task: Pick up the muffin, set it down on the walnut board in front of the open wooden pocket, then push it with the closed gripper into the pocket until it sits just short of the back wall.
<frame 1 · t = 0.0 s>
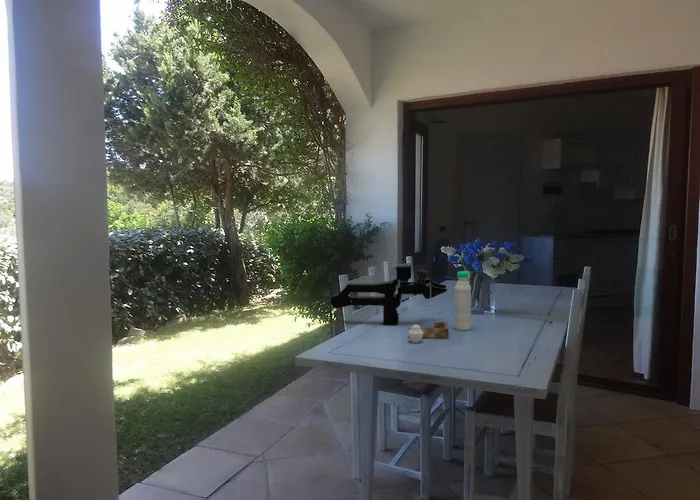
hand: (446, 288, 220), 17 cm above the table, tool horizontal, fingers open, 9 cm apart
muffin: (415, 342, 195), on the table
channel bracket: (428, 334, 206), on the table
white milk bottle: (462, 329, 213), on the table
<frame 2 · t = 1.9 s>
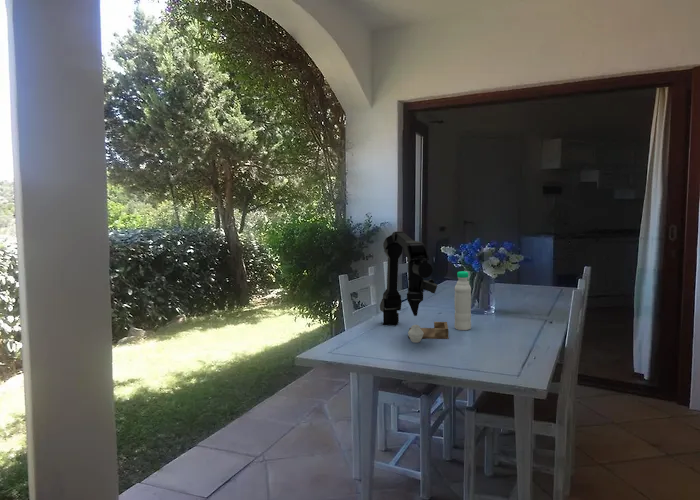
hand: (415, 313, 194), 12 cm above the table, tool pointing down, fingers open, 9 cm apart
nothing on the table moved.
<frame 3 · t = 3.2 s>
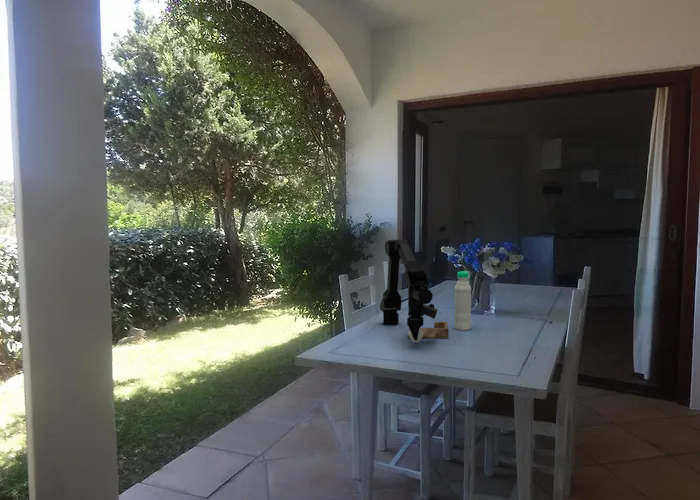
hand: (415, 337, 195), 2 cm above the table, tool pointing down, fingers closed on muffin, 6 cm apart
muffin: (415, 342, 195), on the table, touching gripper
everything else where it was.
when the fingers open (3 cm above the table, at t = 7.0 s): muffin drops 1 cm, resting on channel bracket.
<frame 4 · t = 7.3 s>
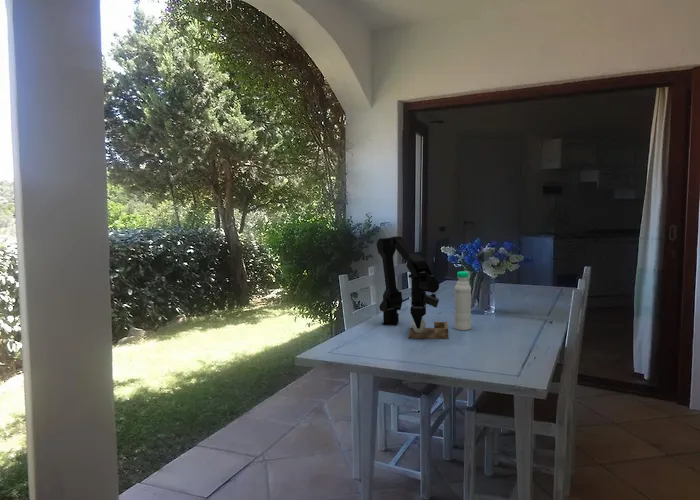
hand: (418, 325, 206), 3 cm above the table, tool pointing down, fingers open, 8 cm apart
muffin: (418, 332, 206), point 1 cm above the table, touching channel bracket
everything else where it was.
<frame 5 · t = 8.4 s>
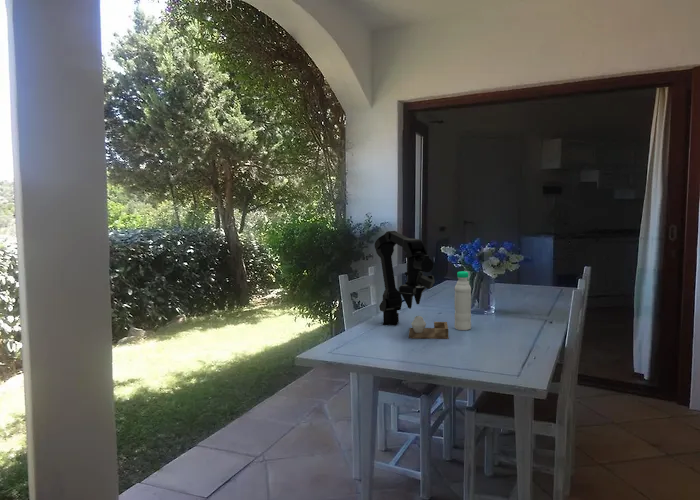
hand: (414, 306, 206), 12 cm above the table, tool pointing down, fingers open, 9 cm apart
nothing on the table moved.
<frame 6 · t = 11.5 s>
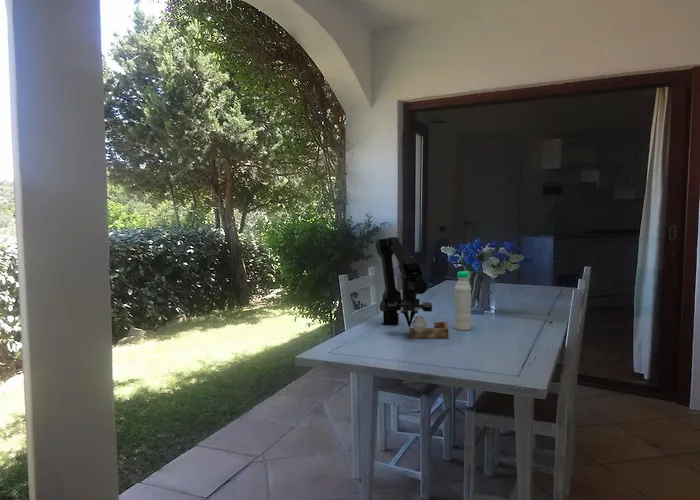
hand: (409, 326, 207), 3 cm above the table, tool pointing down, fingers closed
muffin: (419, 332, 206), point 1 cm above the table, touching gripper
everything else where it was.
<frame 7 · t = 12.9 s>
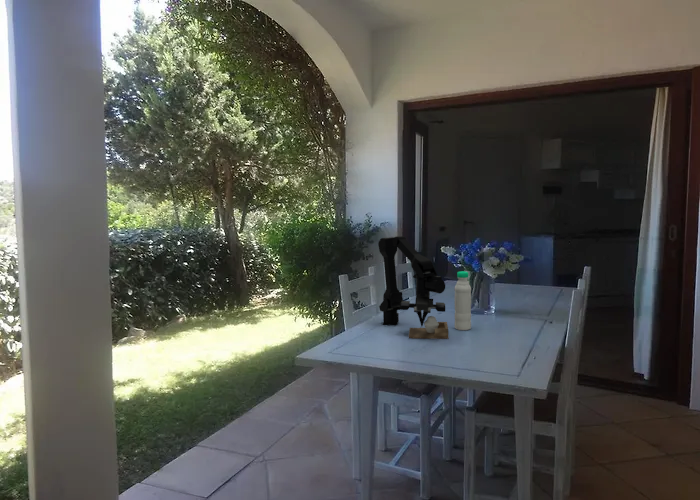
hand: (421, 326, 206), 3 cm above the table, tool pointing down, fingers closed
muffin: (431, 332, 205), point 1 cm above the table, touching channel bracket, gripper
everything else where it was.
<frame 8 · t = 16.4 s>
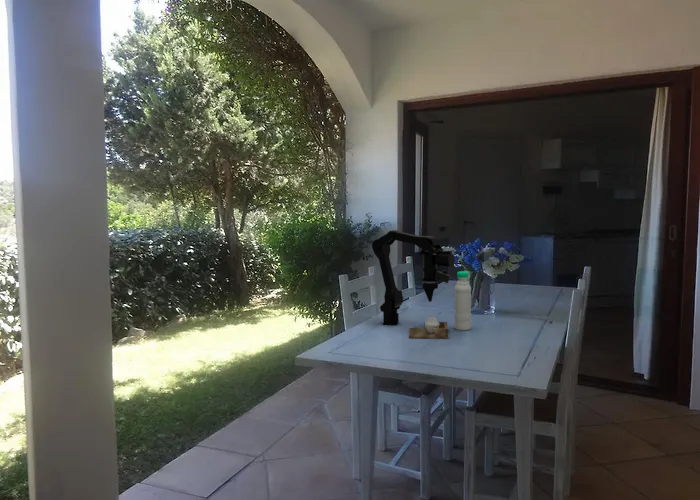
hand: (430, 301, 211), 12 cm above the table, tool pointing down, fingers closed
muffin: (432, 332, 205), point 1 cm above the table, touching channel bracket
everything else where it was.
at the end: muffin 2.3 cm from the target spot on the channel bracket, point 0.6 cm above the channel bracket's base; muffin tilted 0°; the gripper is holding nothing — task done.
